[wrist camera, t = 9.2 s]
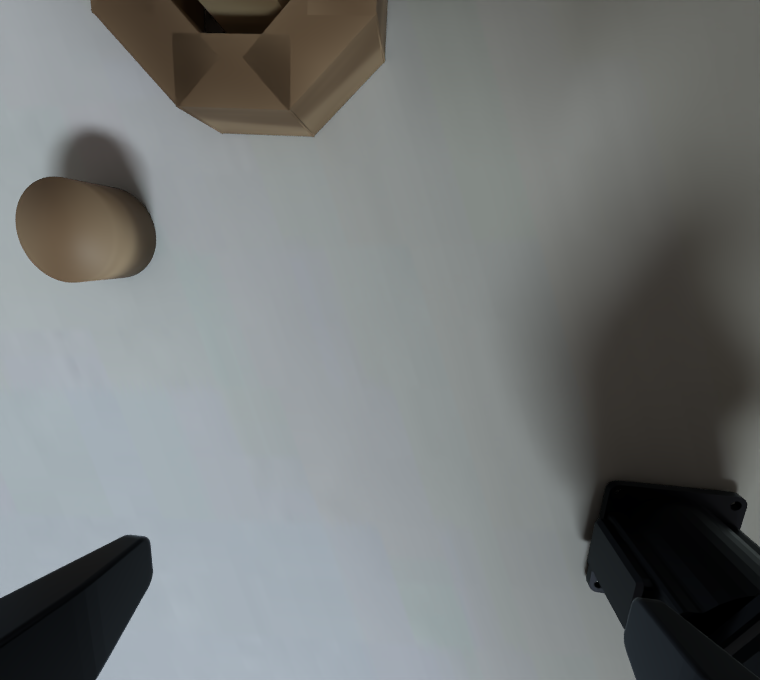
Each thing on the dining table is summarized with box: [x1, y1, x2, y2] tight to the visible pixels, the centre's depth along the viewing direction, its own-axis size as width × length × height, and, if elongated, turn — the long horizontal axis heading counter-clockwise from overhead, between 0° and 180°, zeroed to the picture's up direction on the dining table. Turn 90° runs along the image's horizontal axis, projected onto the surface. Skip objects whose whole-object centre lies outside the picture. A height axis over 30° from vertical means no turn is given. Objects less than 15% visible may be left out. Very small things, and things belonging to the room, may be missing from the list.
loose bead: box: [16, 177, 156, 282], centre depth 18 cm, size 4×4×3 cm
